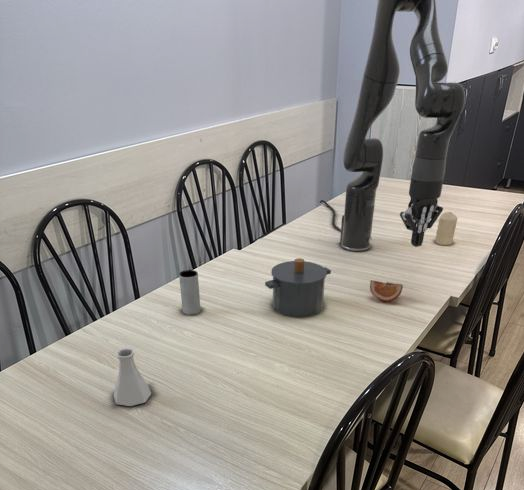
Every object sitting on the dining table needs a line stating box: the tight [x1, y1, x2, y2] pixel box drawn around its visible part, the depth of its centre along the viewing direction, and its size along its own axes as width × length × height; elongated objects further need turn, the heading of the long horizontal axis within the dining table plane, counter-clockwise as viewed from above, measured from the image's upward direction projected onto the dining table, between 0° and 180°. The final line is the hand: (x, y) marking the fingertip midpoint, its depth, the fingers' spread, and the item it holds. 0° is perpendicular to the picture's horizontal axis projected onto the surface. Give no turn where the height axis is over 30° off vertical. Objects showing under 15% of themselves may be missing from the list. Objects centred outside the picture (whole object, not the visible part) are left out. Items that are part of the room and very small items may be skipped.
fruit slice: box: [369, 279, 404, 302], centre depth 132 cm, size 8×7×5 cm
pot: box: [264, 266, 332, 318], centre depth 128 cm, size 13×18×9 cm
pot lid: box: [270, 257, 328, 285], centre depth 125 cm, size 14×14×4 cm
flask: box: [113, 347, 152, 407], centre depth 95 cm, size 7×7×10 cm
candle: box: [435, 211, 458, 246], centre depth 167 cm, size 6×6×10 cm
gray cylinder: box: [178, 269, 201, 316], centre depth 125 cm, size 4×4×10 cm
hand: (416, 245), depth 130 cm, fingers closed
